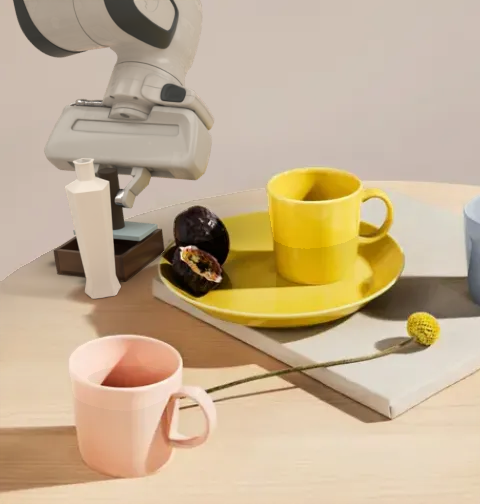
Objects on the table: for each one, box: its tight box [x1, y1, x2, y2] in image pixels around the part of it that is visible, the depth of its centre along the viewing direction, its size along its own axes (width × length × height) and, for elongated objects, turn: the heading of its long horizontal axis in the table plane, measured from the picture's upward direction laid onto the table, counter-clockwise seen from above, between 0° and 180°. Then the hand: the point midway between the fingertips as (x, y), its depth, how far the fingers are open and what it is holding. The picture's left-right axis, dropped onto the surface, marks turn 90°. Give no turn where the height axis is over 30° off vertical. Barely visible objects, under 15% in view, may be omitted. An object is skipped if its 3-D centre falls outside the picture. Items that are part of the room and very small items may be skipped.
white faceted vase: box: [64, 158, 122, 300], centre depth 101 cm, size 5×4×15 cm
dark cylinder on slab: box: [72, 168, 159, 241], centre depth 111 cm, size 9×4×8 cm, turn 73°
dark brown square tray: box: [52, 228, 165, 282], centre depth 111 cm, size 9×9×3 cm
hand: (109, 205), depth 110 cm, fingers closed on dark cylinder on slab, 2 cm apart
